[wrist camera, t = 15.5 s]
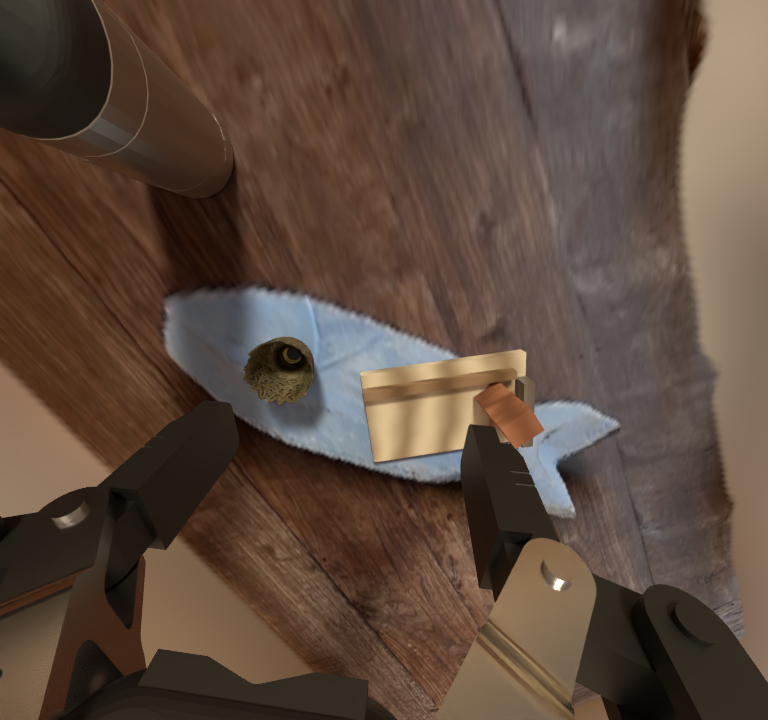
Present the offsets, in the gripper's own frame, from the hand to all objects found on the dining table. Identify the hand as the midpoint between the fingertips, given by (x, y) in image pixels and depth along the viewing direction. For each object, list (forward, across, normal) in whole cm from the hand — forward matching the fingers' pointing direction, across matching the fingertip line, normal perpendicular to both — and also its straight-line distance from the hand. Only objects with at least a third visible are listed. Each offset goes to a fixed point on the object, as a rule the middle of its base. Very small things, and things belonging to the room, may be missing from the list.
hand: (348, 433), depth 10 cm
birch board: (+30, +8, -19) cm, 36 cm away
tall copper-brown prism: (+30, +15, -17) cm, 37 cm away
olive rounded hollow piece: (+28, -13, -11) cm, 32 cm away
